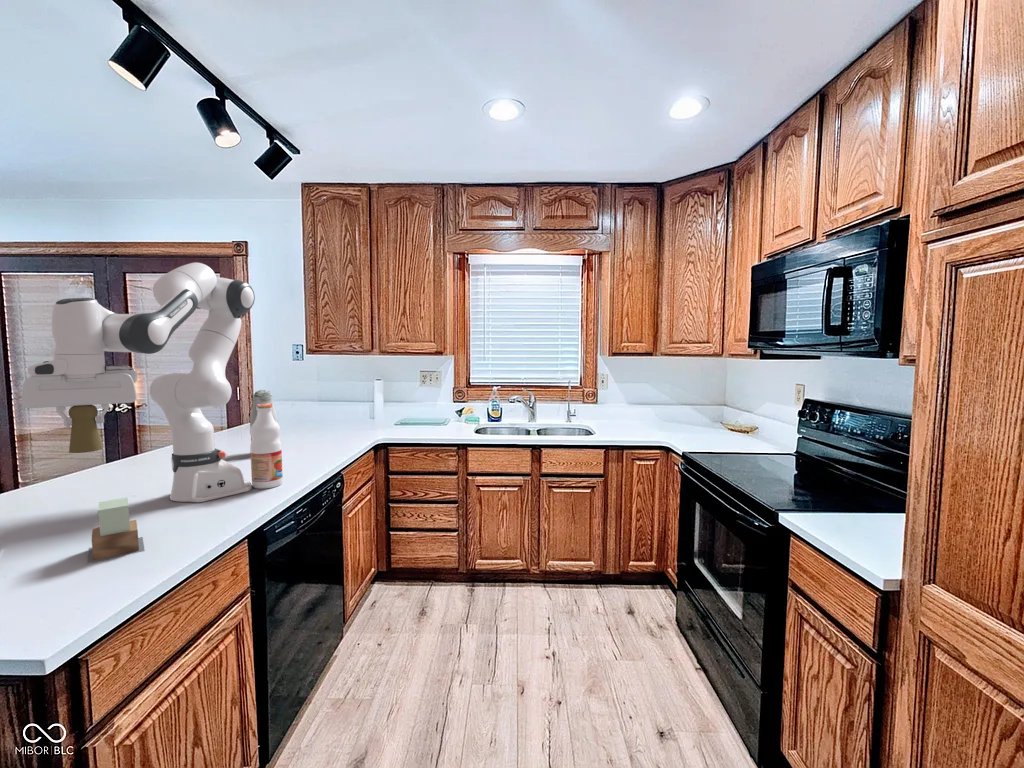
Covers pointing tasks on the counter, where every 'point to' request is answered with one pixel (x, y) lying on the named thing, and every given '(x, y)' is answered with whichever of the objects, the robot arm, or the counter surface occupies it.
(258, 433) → the fruit juice
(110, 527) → the sage block
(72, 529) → the counter surface
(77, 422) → the cork
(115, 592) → the counter surface
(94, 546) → the walnut base block
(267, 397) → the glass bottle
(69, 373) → the robot arm
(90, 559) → the slate coaster
